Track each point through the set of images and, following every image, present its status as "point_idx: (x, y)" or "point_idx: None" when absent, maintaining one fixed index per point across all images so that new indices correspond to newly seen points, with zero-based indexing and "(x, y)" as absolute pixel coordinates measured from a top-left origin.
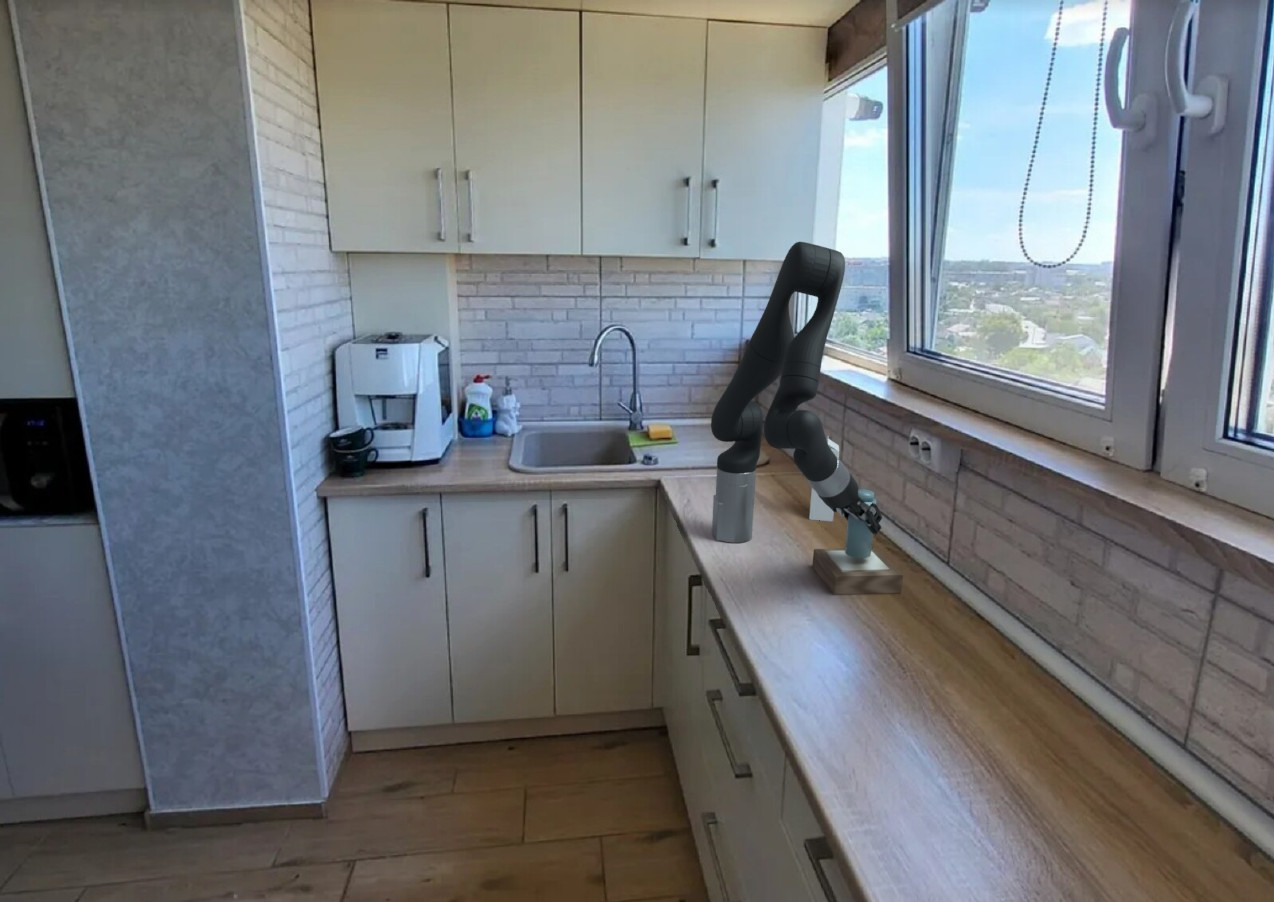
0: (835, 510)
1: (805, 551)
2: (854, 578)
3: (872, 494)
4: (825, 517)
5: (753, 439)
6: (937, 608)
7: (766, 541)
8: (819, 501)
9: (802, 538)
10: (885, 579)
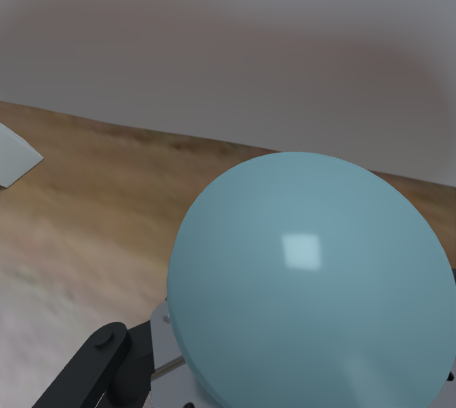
0: (144, 399)
1: (98, 299)
2: None
3: (422, 221)
4: (26, 163)
5: None
6: None
7: (3, 355)
8: None
9: (51, 258)
10: None
